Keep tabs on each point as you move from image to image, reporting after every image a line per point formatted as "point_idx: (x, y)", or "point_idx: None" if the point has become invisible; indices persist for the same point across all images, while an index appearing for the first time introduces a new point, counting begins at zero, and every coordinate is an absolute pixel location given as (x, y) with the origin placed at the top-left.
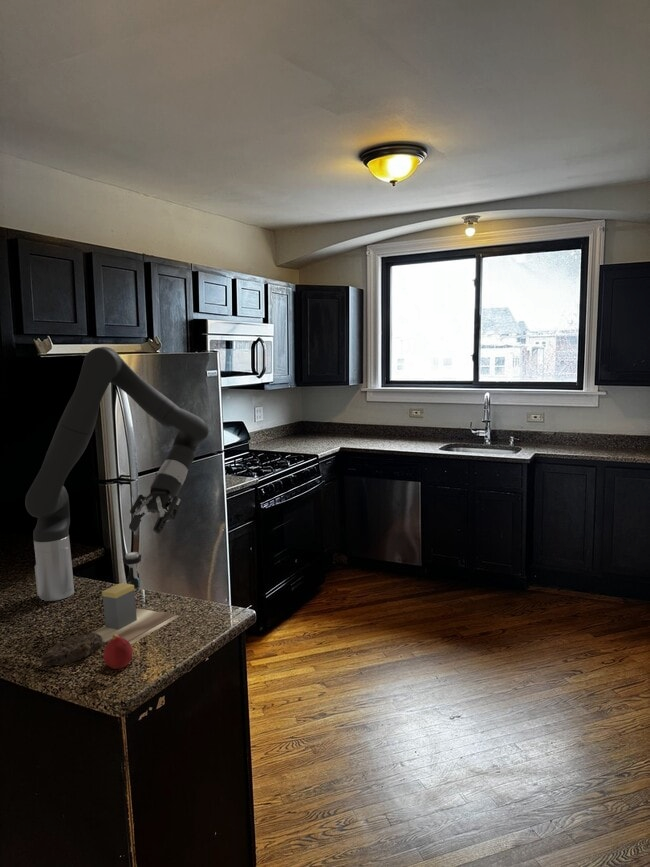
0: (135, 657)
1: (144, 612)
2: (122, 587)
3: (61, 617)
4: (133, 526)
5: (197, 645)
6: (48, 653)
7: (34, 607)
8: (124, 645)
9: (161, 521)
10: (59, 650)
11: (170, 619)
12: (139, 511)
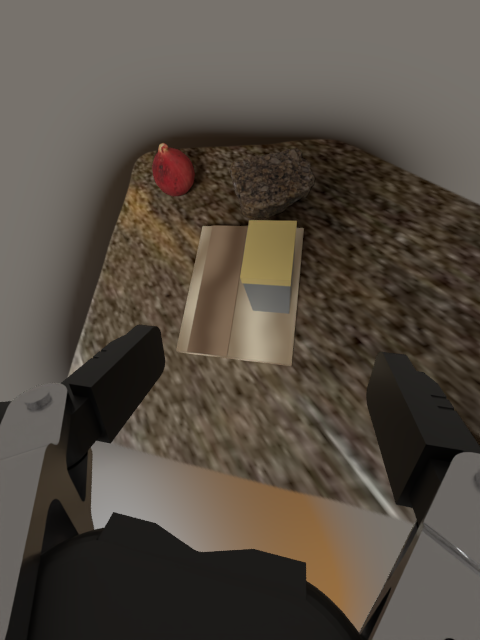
0: (183, 223)
1: (262, 347)
2: (260, 255)
3: (460, 300)
4: (380, 379)
5: (110, 278)
6: (291, 150)
7: None
8: (153, 161)
9: (82, 371)
10: (278, 158)
11: (186, 330)
12: (439, 507)
